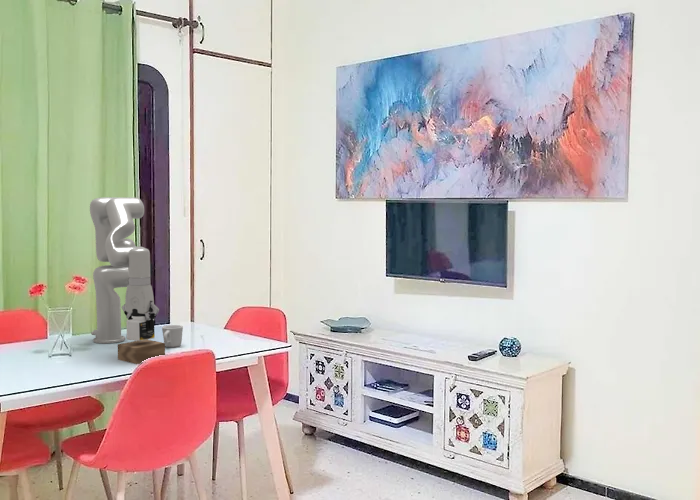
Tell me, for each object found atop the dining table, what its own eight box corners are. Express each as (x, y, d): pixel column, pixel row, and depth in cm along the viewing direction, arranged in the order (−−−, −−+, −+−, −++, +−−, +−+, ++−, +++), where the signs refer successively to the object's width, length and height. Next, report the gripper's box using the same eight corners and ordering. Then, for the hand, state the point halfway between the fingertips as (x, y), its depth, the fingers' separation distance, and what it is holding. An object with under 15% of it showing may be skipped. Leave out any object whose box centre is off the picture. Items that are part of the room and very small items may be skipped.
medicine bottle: (139, 341, 252) (139, 308, 251) (126, 339, 256) (125, 306, 255) (155, 338, 258) (154, 305, 257) (141, 336, 262) (141, 304, 261)
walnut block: (117, 360, 256) (117, 344, 256) (146, 354, 266) (145, 339, 265) (137, 365, 249) (136, 348, 248) (165, 359, 258) (164, 343, 258)
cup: (174, 350, 273) (174, 329, 272) (155, 349, 274) (155, 329, 274) (186, 344, 283) (186, 325, 283) (168, 344, 285) (167, 324, 284)
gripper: (113, 282, 255) (115, 329, 257) (151, 284, 248) (152, 333, 250) (128, 279, 262) (129, 326, 264) (165, 282, 255) (166, 329, 256)
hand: (140, 329), depth 257 cm, fingers closed on medicine bottle, 7 cm apart
